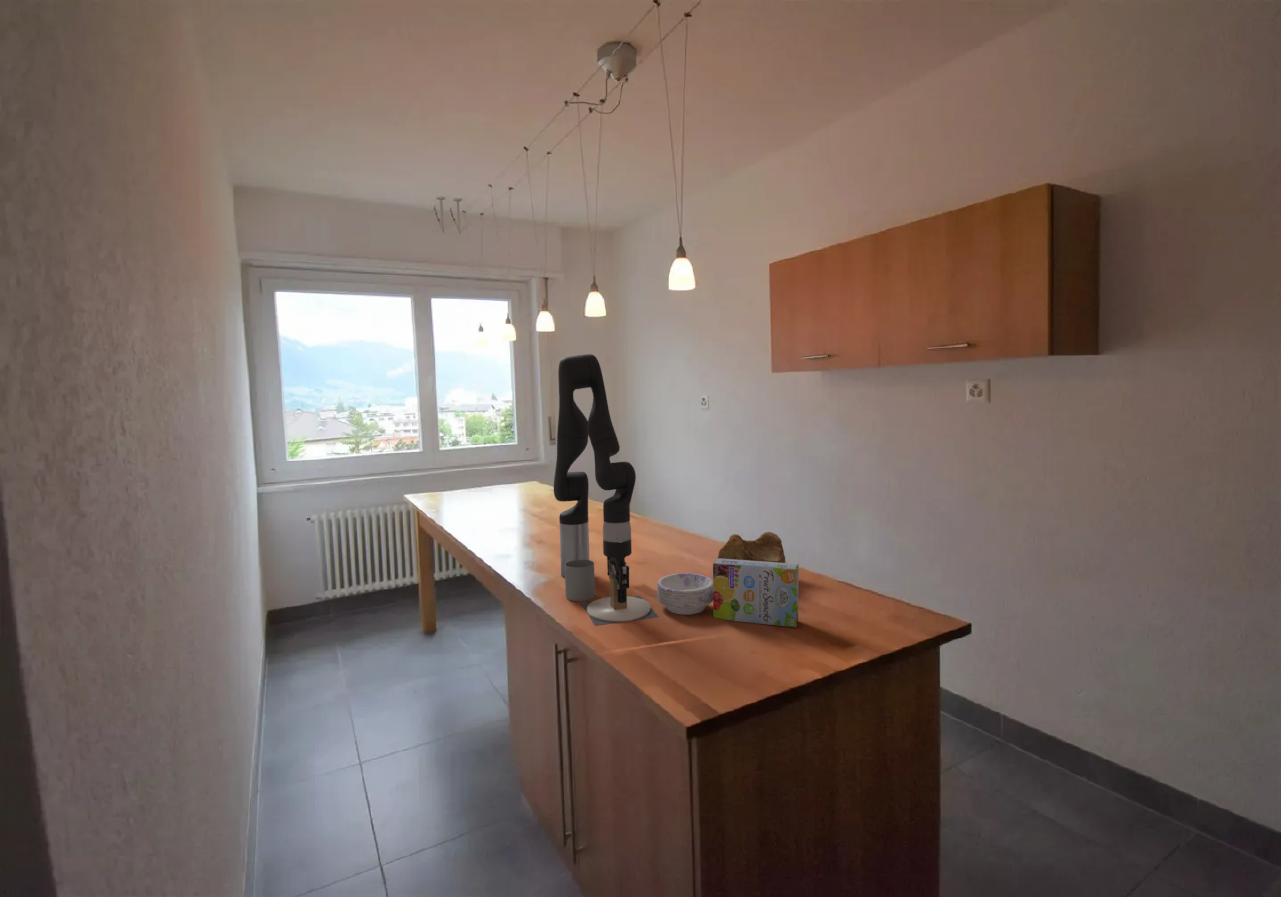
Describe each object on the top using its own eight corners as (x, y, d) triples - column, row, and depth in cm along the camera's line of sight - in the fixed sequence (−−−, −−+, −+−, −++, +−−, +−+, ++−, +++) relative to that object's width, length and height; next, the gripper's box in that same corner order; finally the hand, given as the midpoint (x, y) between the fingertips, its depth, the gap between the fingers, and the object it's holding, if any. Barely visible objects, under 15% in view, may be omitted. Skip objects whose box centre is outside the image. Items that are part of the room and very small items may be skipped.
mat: (581, 604, 171) (581, 603, 171) (639, 597, 176) (639, 595, 176) (595, 627, 155) (595, 625, 155) (659, 618, 160) (659, 616, 160)
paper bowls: (649, 615, 162) (648, 586, 161) (668, 597, 176) (668, 570, 175) (705, 623, 156) (704, 593, 155) (720, 603, 170) (720, 575, 169)
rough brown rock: (745, 602, 173) (750, 551, 170) (708, 582, 187) (712, 534, 184) (803, 589, 185) (809, 541, 183) (765, 571, 199) (769, 526, 197)
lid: (581, 603, 171) (580, 572, 170) (639, 595, 176) (639, 565, 175) (595, 625, 155) (594, 591, 154) (659, 617, 160) (658, 584, 159)
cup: (590, 603, 172) (589, 568, 171) (561, 601, 173) (560, 567, 172) (598, 593, 180) (597, 560, 179) (571, 591, 182) (570, 558, 181)
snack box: (798, 620, 157) (799, 563, 155) (796, 629, 152) (797, 569, 150) (716, 612, 164) (716, 556, 162) (712, 619, 159) (711, 562, 157)
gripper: (597, 532, 169) (598, 591, 170) (610, 545, 155) (611, 608, 157) (623, 530, 171) (624, 588, 173) (638, 542, 157) (639, 605, 159)
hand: (618, 597), depth 165 cm, fingers open, 7 cm apart
